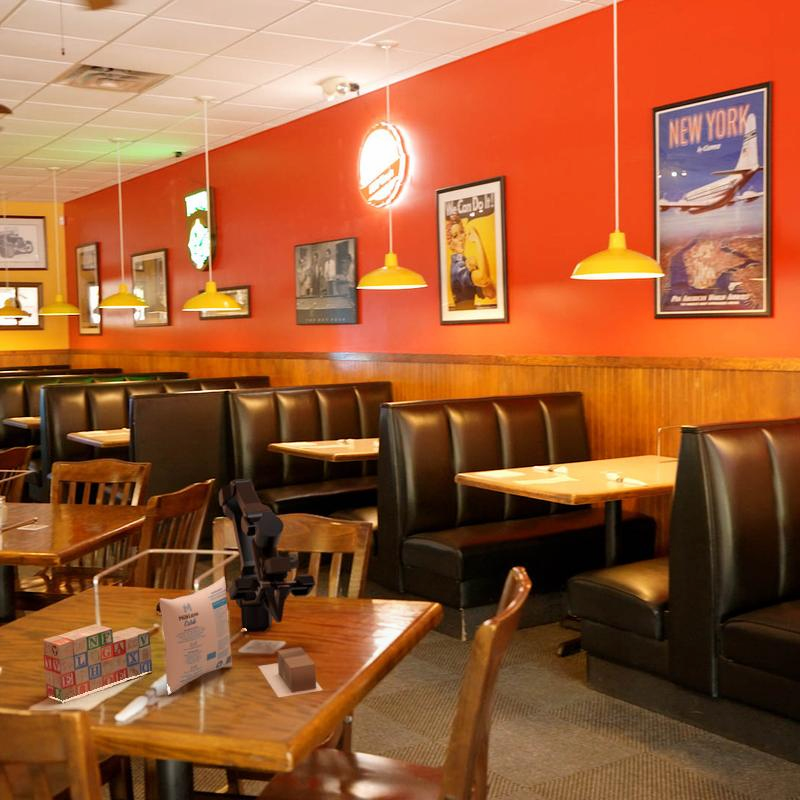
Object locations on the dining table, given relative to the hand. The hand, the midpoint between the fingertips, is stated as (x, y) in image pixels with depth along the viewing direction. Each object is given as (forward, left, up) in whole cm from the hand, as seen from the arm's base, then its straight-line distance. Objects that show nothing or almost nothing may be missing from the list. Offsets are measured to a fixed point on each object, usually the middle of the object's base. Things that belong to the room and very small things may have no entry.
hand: (279, 621), depth 219 cm
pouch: (-14, -13, -9) cm, 21 cm away
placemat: (+5, -12, -9) cm, 16 cm away
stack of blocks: (-35, -16, -9) cm, 39 cm away
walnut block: (+4, -9, -6) cm, 11 cm away
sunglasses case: (-34, +40, -9) cm, 53 cm away
